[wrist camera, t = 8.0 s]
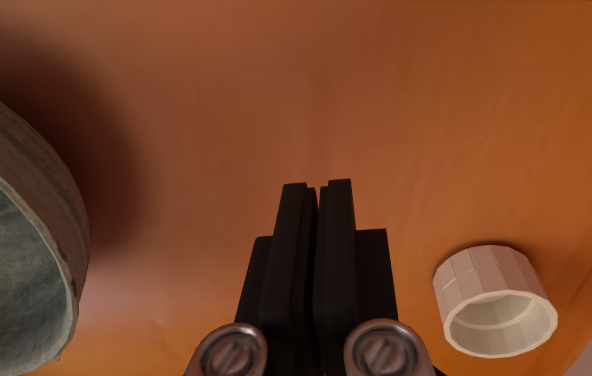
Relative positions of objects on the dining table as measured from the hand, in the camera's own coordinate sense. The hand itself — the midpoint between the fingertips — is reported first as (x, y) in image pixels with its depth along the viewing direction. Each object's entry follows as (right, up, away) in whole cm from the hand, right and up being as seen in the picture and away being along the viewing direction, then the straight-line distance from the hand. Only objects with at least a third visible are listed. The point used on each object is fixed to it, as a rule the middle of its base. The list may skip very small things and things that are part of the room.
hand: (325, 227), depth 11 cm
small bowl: (+13, -5, +19) cm, 24 cm away
